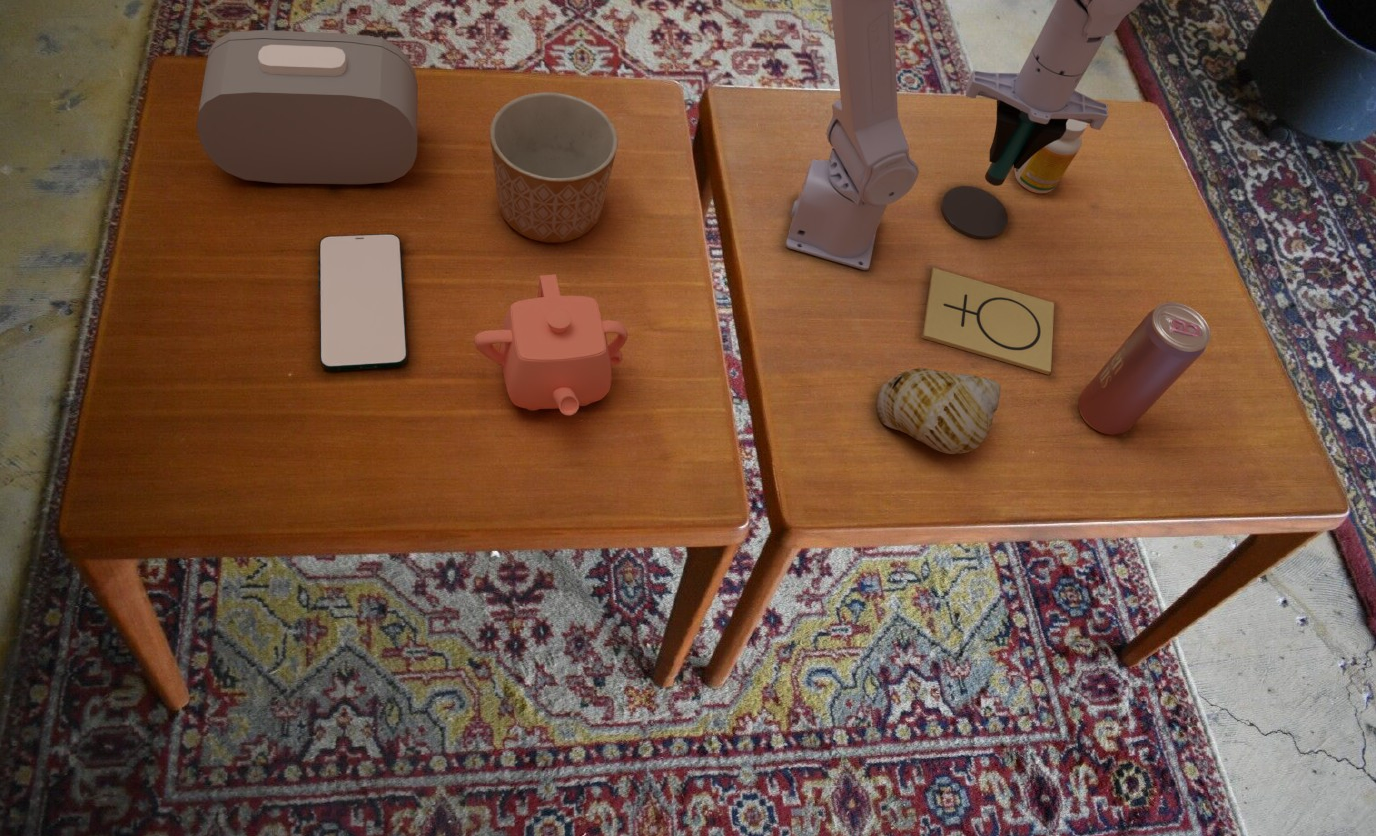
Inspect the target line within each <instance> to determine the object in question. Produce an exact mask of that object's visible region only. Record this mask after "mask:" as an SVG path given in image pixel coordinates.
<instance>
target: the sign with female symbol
mask: <svg viewBox="0 0 1376 836" xmlns="http://www.w3.org/2000/svg"><path fill="white" fill-rule="evenodd" d="M928 286H929V287H928V294H927V299H926V300H927V301H926V308H925V313H924V314H925V315H924V322H923V327H922V328H923V329H922V334H921V335H922V336H921V338H922V339H924V340H926V341H927V340H928V341H931V342H933V343H937V344H941V345H944V346H948V347H951V348H954V349H958V350H961V351H965V352H968V353H972V354H975V355H978V356H983V357H986V358H989V359H993V360H997V361H999V362H1003V363H1006V364H1010V365H1013V366H1017V367H1020V368H1024V369H1027V370H1031V371H1034V372H1038V373H1041V374H1043V375H1044V374H1045V375H1048V376H1049V375H1050V374H1051V372H1052V359H1053V356H1052V355H1053V335H1054V317H1055V316H1054V315H1055V302H1053V301H1050V300H1046V299H1042V298H1039V297H1036V296H1032V295H1028V294H1025V293H1022V292H1018V291H1015V290H1011V289H1008V288H1004V287H1001V286H998V285H994V284H991V283H987V282H984V281H981V280H977V279H974V278H970V277H966V276H963V275H960V274H956V273H953V272H949V271H946V270H942V269H939V268H936V267H933V268H932V269H931V271H930V278H929V285H928Z"/></svg>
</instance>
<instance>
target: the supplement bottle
mask: <svg viewBox="0 0 1376 836" xmlns="http://www.w3.org/2000/svg"><path fill="white" fill-rule="evenodd" d="M1087 127H1088V123H1085V122H1081V121H1077V120H1073V119H1068V121H1067V122H1066V132H1065V133H1064V135H1063V136H1062V137H1061V138H1060V139H1059V140H1056V141H1054V142H1052V143H1050V144H1048V145H1047V146H1045V147H1043V148H1042V149H1041V150H1039V151H1038V152H1037V153H1035V154H1034V155H1033V156H1032V157H1031V158H1030V159H1029V160H1028V161H1027V162H1026V163H1025V164H1024V165H1023V166H1022V167H1021V168H1020V169H1016V168H1014V177H1015V179H1016V181H1017V183H1018V184H1019V185H1020V186H1022V187H1023V188H1025V189H1026V190H1027V191H1029V192H1032V193H1035V194H1047V193H1050V192H1052V191H1053V190H1054V189H1056V187H1057V186H1058V184H1059V182H1060V181H1061V179H1062V178H1063V176H1064V174H1065V173H1066V171H1067V170H1068V168H1069V167H1070V165H1071V164H1072V162H1073V160H1074V158H1075V157H1076V156H1077V154H1078V153H1079V152H1080V149H1081V147H1082V142H1083V140H1082V138H1083V137H1082V135H1083V134H1084V132H1085V130H1086V129H1087Z"/></svg>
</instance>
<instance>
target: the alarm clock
mask: <svg viewBox="0 0 1376 836" xmlns="http://www.w3.org/2000/svg"><path fill="white" fill-rule="evenodd" d="M418 84H419V83H418V79H417V75H416V70H415V68H414V66H413V64H412V62H411V60H410V58H409V57H408V55H407V54H406V53H404V51H403V50H402V49H401V48H400V47H399V46H397V45H395V44H393V42H392V43H391V42H390V41H388V40H386V39H384V38H383V37H377V36H368V35H361V34H355V33H354V34H353V33H340V32H317V31H293V30H288V31H287V30H271V29H259V30H257V29H256V30H255V29H254V30H238V31H229V32H227V33H226V34H224V35H222V36H221V37H219V38H217V39H216V40H215V41H214V43H213V44H212V45H211V47H210V48H209V50H208V53H207V59H206V65H205V72H204V77H203V82H202V89H201V93H200V94H201V95H200V101H199V106H198V113H197V120H196V131H197V136H198V140H199V142H200V144H201V147H202V149H203V151H204V152H205V155H207V156H208V157H209V159H210V160H211V162H212V163H213V164H214V165H216V166H217V167H219V168H220V169H221V170H222V171H224V172H225V173H226V174H229V175H232V176H234V177H237V178H239V179H242V180H244V181H255V182H263V183H271V184H273V183H274V184H310V185H311V184H315V185H317V184H319V185H320V184H321V185H368V184H369V185H370V184H382V183H383V184H384V183H390V182H393V181H396V180H397V179H400V178H402V177H404V176H405V175H406V174H407V173H408V172H409V171H410V170H411V169H412V168H413V166H414V164H415V162H416V158H417V156H418V155H417V154H418V103H419V102H418V100H419V99H418V97H419V95H418V94H419V92H418V89H419V88H418V87H419V86H418Z"/></svg>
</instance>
